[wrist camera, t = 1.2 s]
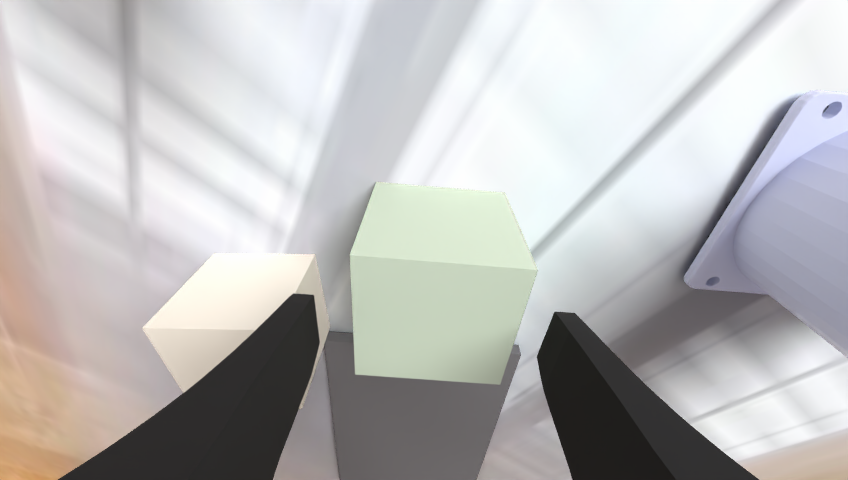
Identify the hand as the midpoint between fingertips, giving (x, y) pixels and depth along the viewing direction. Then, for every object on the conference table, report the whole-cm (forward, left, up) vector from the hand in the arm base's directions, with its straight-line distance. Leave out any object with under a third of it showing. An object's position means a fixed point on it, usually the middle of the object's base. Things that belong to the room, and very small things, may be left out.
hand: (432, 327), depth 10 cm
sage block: (0, 0, -5) cm, 5 cm away
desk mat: (0, +14, -5) cm, 15 cm away
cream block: (+7, +4, -5) cm, 9 cm away
